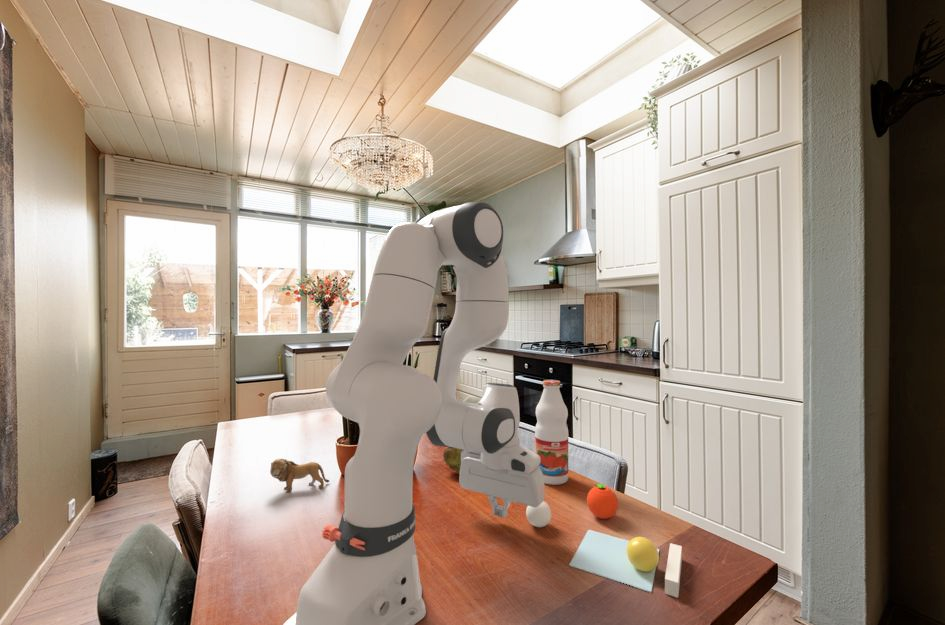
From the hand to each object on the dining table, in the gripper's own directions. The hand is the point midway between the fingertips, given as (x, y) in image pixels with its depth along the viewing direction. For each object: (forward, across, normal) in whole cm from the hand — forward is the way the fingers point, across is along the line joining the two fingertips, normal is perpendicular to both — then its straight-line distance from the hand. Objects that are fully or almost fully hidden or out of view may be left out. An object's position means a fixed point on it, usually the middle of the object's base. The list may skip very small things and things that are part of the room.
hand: (500, 515), depth 88 cm
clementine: (+2, +19, +15) cm, 24 cm away
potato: (+2, -21, +19) cm, 28 cm away
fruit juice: (+2, +2, +29) cm, 29 cm away
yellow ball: (-1, +30, -1) cm, 30 cm away
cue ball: (-1, +8, +3) cm, 9 cm away
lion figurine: (+2, -54, -13) cm, 55 cm away
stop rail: (+2, +35, 0) cm, 35 cm away
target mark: (+2, +25, 0) cm, 25 cm away
